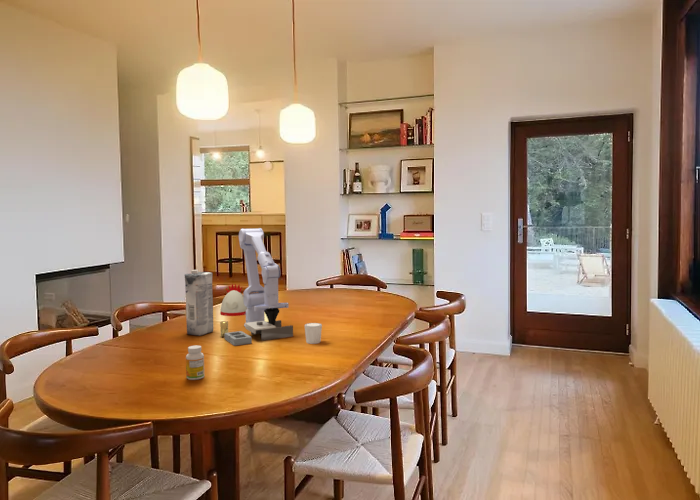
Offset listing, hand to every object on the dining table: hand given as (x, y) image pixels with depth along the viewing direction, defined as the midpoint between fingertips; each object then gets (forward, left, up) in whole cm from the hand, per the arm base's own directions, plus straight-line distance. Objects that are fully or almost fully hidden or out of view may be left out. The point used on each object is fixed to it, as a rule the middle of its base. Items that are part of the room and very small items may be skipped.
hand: (271, 326), depth 216 cm
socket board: (+2, -15, -4) cm, 16 cm away
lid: (0, -5, -1) cm, 5 cm away
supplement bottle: (+38, -41, -4) cm, 56 cm away
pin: (-9, -17, -4) cm, 20 cm away
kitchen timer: (-53, +2, -4) cm, 53 cm away
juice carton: (-20, -24, -4) cm, 32 cm away
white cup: (+19, +10, -4) cm, 22 cm away
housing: (0, 0, -4) cm, 4 cm away
